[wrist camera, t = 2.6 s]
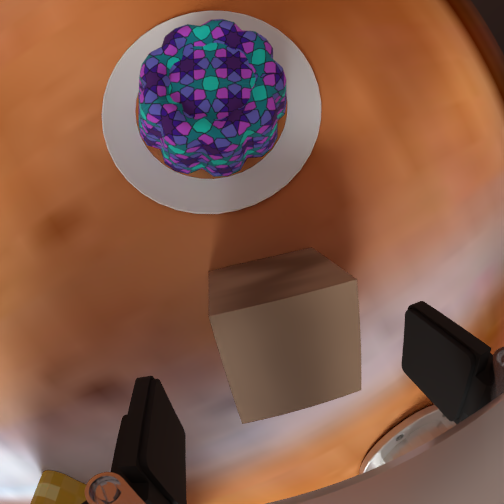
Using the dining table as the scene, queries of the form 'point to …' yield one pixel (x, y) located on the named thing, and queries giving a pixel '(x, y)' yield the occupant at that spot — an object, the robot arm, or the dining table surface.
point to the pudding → (211, 111)
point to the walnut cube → (286, 332)
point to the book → (58, 489)
